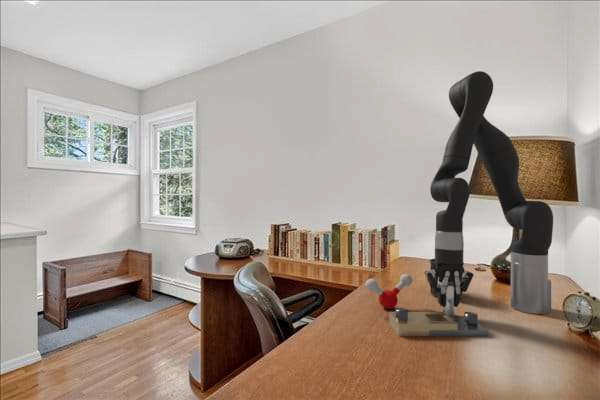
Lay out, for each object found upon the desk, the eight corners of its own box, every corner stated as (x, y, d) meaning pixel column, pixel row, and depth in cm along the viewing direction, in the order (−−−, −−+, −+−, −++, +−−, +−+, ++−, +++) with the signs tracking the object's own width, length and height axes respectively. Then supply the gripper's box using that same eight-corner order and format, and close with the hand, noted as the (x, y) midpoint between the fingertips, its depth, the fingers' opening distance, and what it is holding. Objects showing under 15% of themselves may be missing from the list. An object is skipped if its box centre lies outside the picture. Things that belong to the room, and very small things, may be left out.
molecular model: (376, 317, 87) (376, 282, 87) (361, 311, 92) (361, 278, 92) (414, 305, 97) (414, 274, 97) (399, 300, 102) (399, 270, 102)
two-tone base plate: (470, 323, 84) (470, 304, 84) (488, 336, 76) (488, 315, 76) (389, 322, 84) (389, 304, 84) (398, 335, 76) (398, 315, 76)
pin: (451, 312, 92) (451, 278, 92) (457, 317, 88) (458, 282, 88) (439, 312, 92) (439, 278, 92) (445, 317, 88) (445, 282, 88)
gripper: (466, 244, 94) (465, 301, 94) (419, 244, 94) (419, 301, 94) (480, 249, 86) (480, 310, 86) (430, 248, 86) (429, 310, 86)
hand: (448, 305), depth 90 cm, fingers closed on pin, 3 cm apart
